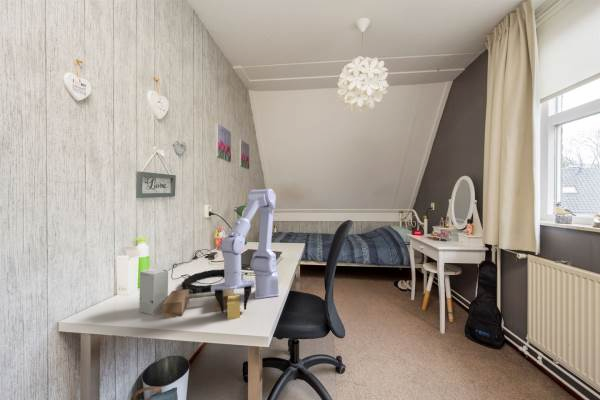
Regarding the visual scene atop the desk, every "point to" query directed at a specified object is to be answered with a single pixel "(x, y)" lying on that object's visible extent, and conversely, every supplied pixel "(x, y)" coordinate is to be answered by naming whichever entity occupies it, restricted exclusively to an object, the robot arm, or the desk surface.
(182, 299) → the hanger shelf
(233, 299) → the yellow block
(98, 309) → the desk surface
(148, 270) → the skincare box
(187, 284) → the cable lock
